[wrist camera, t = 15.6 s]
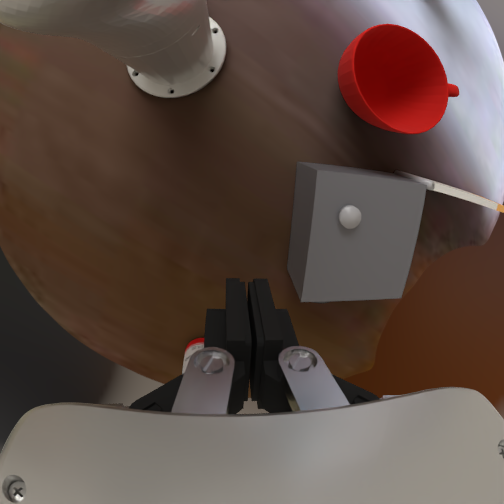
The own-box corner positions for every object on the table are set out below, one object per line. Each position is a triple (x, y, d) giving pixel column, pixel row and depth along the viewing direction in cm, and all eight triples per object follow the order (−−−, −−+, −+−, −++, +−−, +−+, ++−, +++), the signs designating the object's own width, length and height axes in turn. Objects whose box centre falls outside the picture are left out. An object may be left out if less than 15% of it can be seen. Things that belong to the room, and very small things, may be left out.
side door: (392, 177, 37) (426, 189, 30) (394, 169, 37) (428, 179, 29) (482, 203, 40) (513, 217, 32) (483, 196, 40) (515, 210, 32)
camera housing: (297, 161, 36) (319, 171, 27) (390, 172, 38) (430, 186, 29) (285, 277, 43) (300, 316, 34) (371, 277, 44) (400, 310, 35)
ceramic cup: (427, 135, 36) (472, 141, 26) (325, 131, 35) (357, 131, 26) (420, 55, 31) (463, 44, 21) (316, 39, 30) (344, 14, 21)
